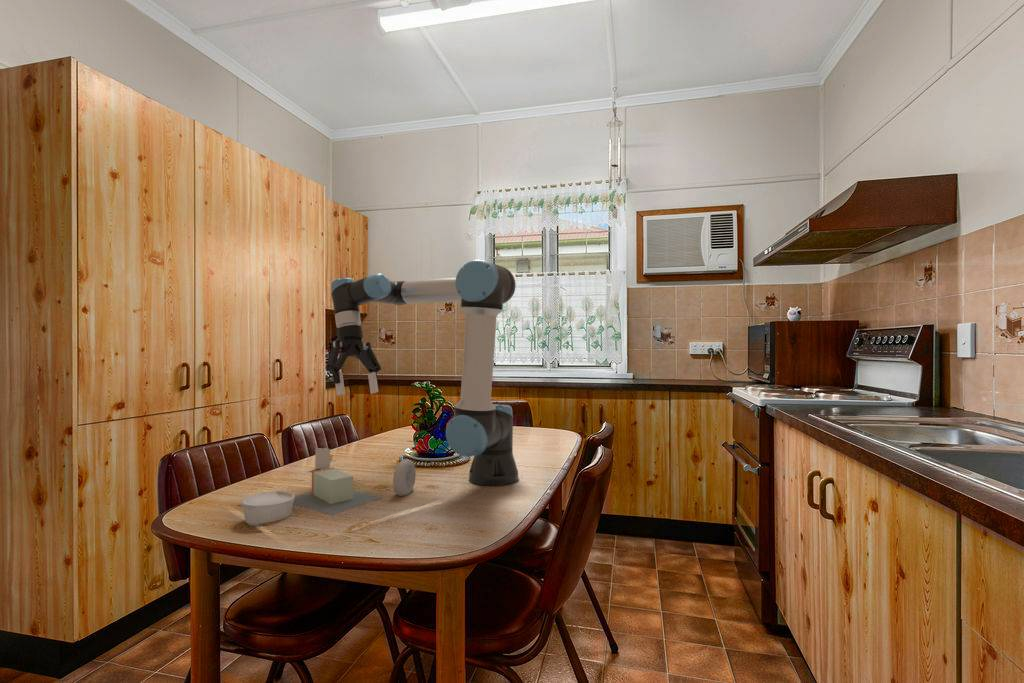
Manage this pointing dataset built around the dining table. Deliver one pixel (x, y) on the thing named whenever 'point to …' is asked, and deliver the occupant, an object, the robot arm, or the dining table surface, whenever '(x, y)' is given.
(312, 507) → the slate mat
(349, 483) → the sage block
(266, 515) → the ramekin
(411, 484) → the grey wheel
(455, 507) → the dining table surface
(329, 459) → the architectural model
